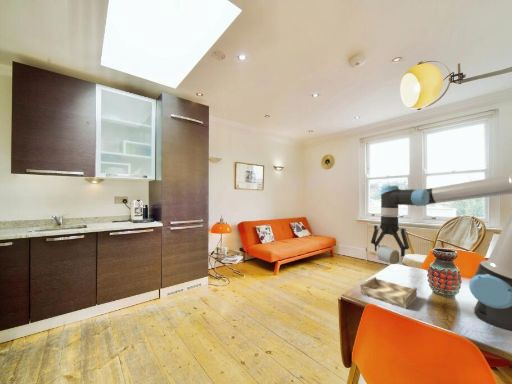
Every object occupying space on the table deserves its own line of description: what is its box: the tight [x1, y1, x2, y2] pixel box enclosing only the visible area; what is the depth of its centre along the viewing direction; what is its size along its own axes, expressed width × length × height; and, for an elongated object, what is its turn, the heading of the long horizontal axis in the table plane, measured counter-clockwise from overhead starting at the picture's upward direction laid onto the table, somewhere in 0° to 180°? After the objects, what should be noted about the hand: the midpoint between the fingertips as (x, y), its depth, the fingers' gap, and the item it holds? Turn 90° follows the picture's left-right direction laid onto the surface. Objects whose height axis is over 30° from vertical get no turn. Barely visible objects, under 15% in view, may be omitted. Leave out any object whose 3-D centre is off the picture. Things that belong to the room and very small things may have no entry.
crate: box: [359, 276, 418, 309], centre depth 112 cm, size 20×17×5 cm
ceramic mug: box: [376, 245, 399, 265], centre depth 112 cm, size 11×8×8 cm
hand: (389, 260), depth 112 cm, fingers closed on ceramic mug, 9 cm apart
